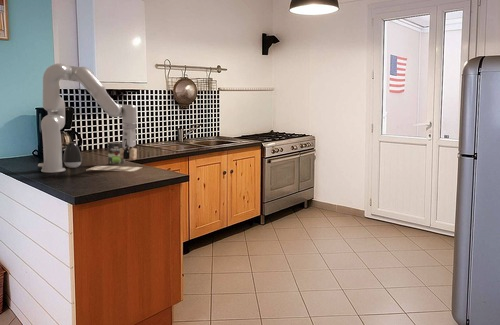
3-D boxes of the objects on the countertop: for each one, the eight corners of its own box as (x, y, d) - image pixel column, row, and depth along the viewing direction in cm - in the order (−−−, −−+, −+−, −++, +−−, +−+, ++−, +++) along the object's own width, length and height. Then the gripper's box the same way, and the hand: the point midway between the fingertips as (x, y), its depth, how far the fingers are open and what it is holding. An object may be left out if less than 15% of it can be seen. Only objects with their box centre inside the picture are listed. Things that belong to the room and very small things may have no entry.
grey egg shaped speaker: (63, 166, 271) (62, 141, 269) (81, 165, 274) (81, 140, 272) (62, 168, 261) (61, 142, 259) (81, 168, 265) (81, 142, 263)
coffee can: (125, 166, 275) (124, 143, 273) (107, 166, 272) (107, 143, 270) (125, 164, 285) (124, 141, 283) (108, 164, 282) (107, 142, 280)
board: (86, 171, 253) (86, 169, 253) (97, 167, 268) (97, 165, 268) (134, 173, 250) (133, 171, 250) (143, 169, 265) (143, 167, 265)
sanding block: (119, 158, 255) (120, 148, 254) (123, 157, 260) (123, 147, 259) (133, 159, 254) (133, 149, 253) (136, 158, 259) (136, 148, 258)
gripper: (129, 127, 246) (129, 160, 248) (140, 126, 263) (139, 157, 265) (116, 126, 246) (116, 159, 249) (128, 125, 263) (127, 156, 266)
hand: (128, 158), depth 257 cm, fingers closed on sanding block, 5 cm apart
